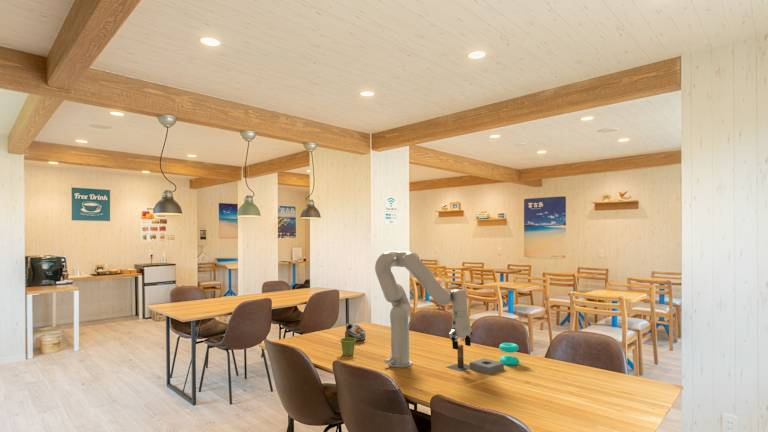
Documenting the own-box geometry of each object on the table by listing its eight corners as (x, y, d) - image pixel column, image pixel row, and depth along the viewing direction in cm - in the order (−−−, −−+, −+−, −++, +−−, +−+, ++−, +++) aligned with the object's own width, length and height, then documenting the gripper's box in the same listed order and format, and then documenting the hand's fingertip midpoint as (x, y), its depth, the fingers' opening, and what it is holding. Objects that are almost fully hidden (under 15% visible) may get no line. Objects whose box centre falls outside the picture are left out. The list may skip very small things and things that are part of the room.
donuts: (498, 341, 239) (517, 342, 237) (499, 360, 238) (518, 361, 236) (499, 346, 229) (519, 347, 227) (500, 365, 229) (520, 366, 227)
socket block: (489, 375, 213) (489, 367, 214) (469, 369, 223) (469, 362, 223) (503, 370, 221) (503, 363, 221) (484, 365, 230) (484, 358, 230)
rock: (369, 338, 295) (370, 321, 289) (360, 349, 285) (361, 332, 279) (350, 330, 301) (350, 313, 295) (340, 340, 291) (341, 323, 285)
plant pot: (357, 352, 258) (357, 337, 259) (354, 356, 249) (354, 341, 249) (341, 352, 259) (341, 337, 260) (338, 356, 250) (338, 341, 250)
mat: (460, 372, 218) (460, 371, 218) (445, 367, 226) (445, 367, 226) (475, 367, 226) (475, 366, 226) (460, 363, 233) (460, 362, 233)
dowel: (461, 368, 224) (460, 346, 224) (456, 366, 226) (456, 345, 227) (464, 367, 226) (464, 345, 226) (460, 365, 228) (459, 344, 228)
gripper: (454, 316, 219) (456, 351, 218) (476, 312, 230) (478, 345, 229) (443, 315, 224) (444, 349, 223) (465, 310, 236) (466, 343, 235)
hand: (461, 347), depth 226 cm, fingers open, 9 cm apart
